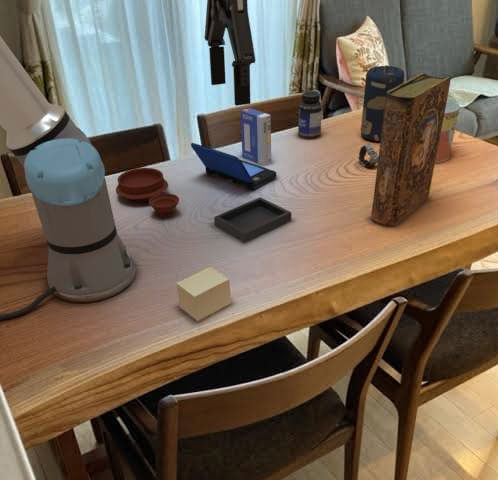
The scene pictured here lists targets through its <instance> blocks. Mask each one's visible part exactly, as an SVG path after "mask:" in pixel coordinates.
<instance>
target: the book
mask: <svg viewBox="0 0 498 480" xmlns="http://www.w3.org/2000/svg"><path fill="white" fill-rule="evenodd" d="M451 79H452V77H450V76H447V77H435V76H431V75H427V74H426V73H425V72H422V73H420V74H418V75H416V76H414V77H412V78H410V79H408V80H406V81H404V83H403V84H401V85H399V86H397V87H395V88H393V89H391V90H389V91H387V92H386V99H385V108H384V116H383V124H382V132H381V140H380V141H379V149H378V156H379V157H378V162H377V164H376V165H377V166H376V172H375V173H376V174H375V182H374V190H373V197H372V206H371V207H372V208H371V216H370V220H371V222H373V223H374V224H375V225H376V224H377V225H379V226H382V227H387V228H393V227H394V228H395V227H396V226H397V225H399V224H400V223H401V222H402V221H403V220H404V219H406V217H408V216H409V215H410V214H411V213H412V212H414V211H415V210H416V209H417V208H419V207H420V206H421V205H423V203H424V202H425V201H426V200H427V199H428V197H429V195H430V190H431V185H432V180H433V176H434V172H435V171H434V170H435V165H436V163H435V160H436V155H437V150H438V145H439V139H440V134H441V129H442V124H443V118H444V113H445V108H446V103H447V100H448V97H449V93H450V92H449V91H450V88H451V87H450V86H451Z"/></svg>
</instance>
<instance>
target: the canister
mask: <svg viewBox="0 0 498 480" xmlns="http://www.w3.org/2000/svg"><path fill="white" fill-rule="evenodd" d="M404 82H405V71H404V69H402V68H400V67H397V66H392V65H388V64H385V65H378V66H373V67H370V68H368V69H367V71H366V74H365V84H364V92H363V103H362V114H361V124H360V134H361V136H362V137H363V138H365V139H366V140H369V141H375V142H380V140H381V132H382V124H383V116H384V108H385V99H386V92H387V91H389V90H391V89H393V88H395V87H397V86H399V85H401V84H403V83H404Z"/></svg>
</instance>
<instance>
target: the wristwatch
mask: <svg viewBox="0 0 498 480" xmlns="http://www.w3.org/2000/svg"><path fill="white" fill-rule="evenodd" d="M366 155H368V156H369V160H368V159H365V157H366ZM378 157H379V153H378V152H377V151H376V150H375V149H374V146H373V145H372V144H371V143H369V144H365V145H363V146H361V147H360V149H359V152H358V158H357V159H358V162H359V163H361V166H362V167H365V168H371V167H373V166H375V165H377V164H378Z"/></svg>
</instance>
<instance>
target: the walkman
mask: <svg viewBox="0 0 498 480" xmlns="http://www.w3.org/2000/svg"><path fill="white" fill-rule="evenodd" d="M239 112H240V132H241V133H240V134H241V135H240V136H241V155H242V158H244V159H246V160H248V161H252V162H254V163H257V164H259V165H260V166H265V165H269V164H270V163H272V129H271V128H272V126H271V125H272V124H271V123H272V122H271V118H272V117H271V114H269V113H267V112H263V111H259V110H256V109H254V108H251V107H247V108H244V109H241V110H240V111H239Z"/></svg>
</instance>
